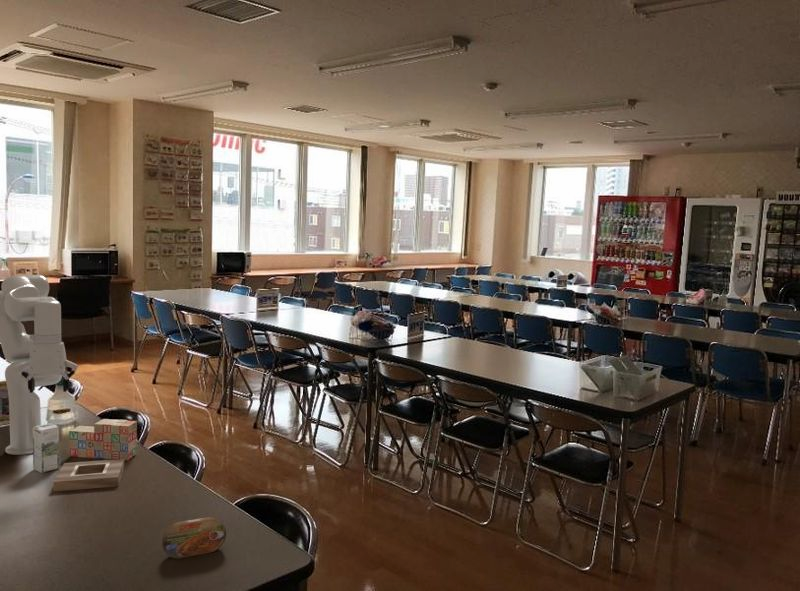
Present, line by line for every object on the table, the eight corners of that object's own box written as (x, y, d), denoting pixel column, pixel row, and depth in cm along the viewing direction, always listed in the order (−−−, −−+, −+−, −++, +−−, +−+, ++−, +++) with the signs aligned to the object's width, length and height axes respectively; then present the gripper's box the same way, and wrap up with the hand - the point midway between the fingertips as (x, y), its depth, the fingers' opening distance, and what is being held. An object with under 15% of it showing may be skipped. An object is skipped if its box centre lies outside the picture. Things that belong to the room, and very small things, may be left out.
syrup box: (50, 464, 216) (49, 422, 215) (59, 468, 213) (58, 425, 212) (33, 469, 212) (31, 426, 210) (42, 473, 208) (40, 429, 207)
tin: (162, 561, 157) (162, 527, 156) (161, 555, 160) (161, 522, 159) (226, 550, 163) (226, 518, 162) (224, 544, 166) (224, 513, 165)
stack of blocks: (69, 457, 224) (68, 422, 223) (79, 450, 231) (79, 417, 229) (128, 460, 222) (128, 425, 221) (137, 454, 229) (137, 420, 227)
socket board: (64, 472, 210) (64, 462, 210) (124, 467, 216) (124, 458, 215) (53, 491, 195) (53, 481, 195) (118, 486, 200) (118, 476, 200)
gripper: (14, 341, 201) (15, 395, 203) (75, 341, 206) (76, 393, 208) (21, 336, 209) (22, 388, 211) (80, 336, 213) (80, 387, 215)
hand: (49, 391), depth 209 cm, fingers open, 9 cm apart
